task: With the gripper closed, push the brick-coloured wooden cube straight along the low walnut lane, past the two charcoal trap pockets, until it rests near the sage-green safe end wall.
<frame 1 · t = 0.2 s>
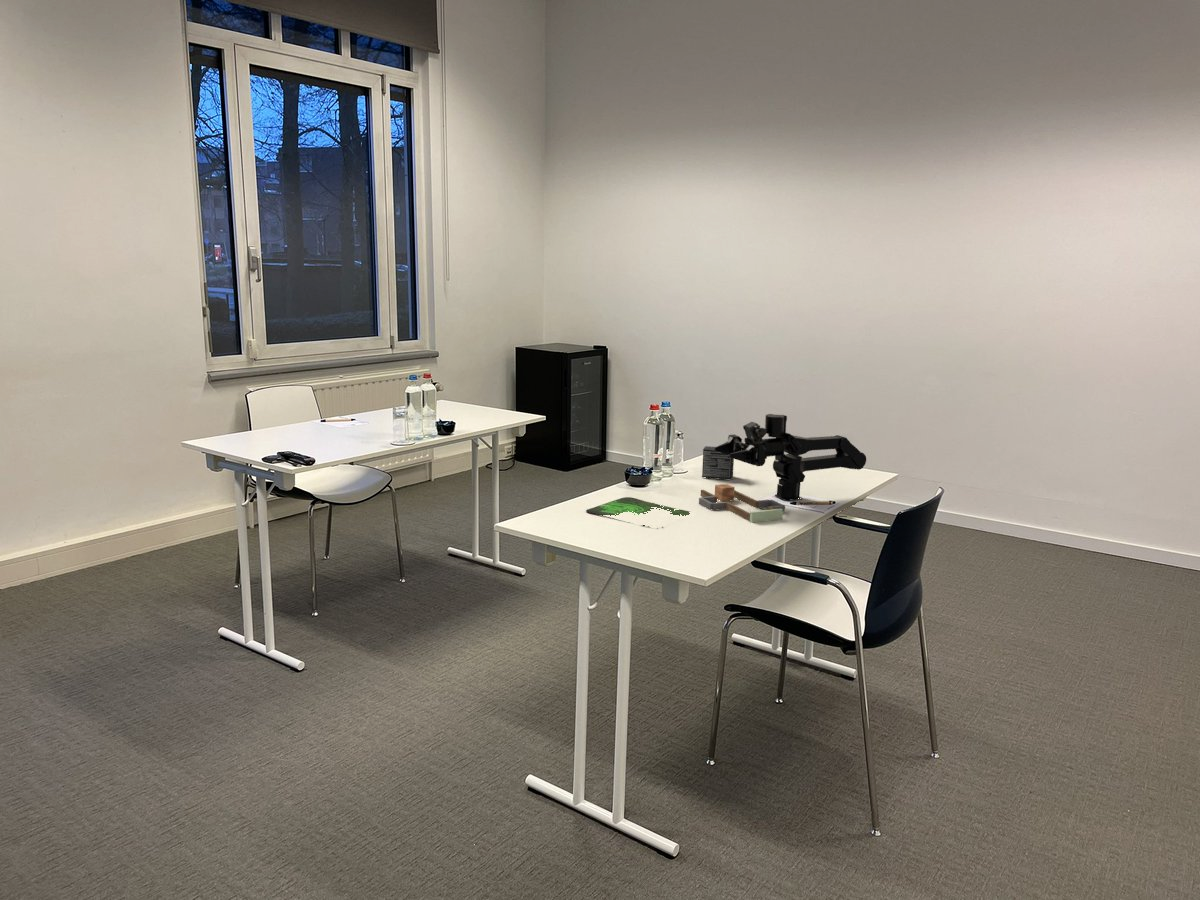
hand: (722, 452, 274), 17 cm above the table, tool horizontal, fingers open, 9 cm apart
safe end wall: (766, 515, 261), on the table
small box: (717, 477, 313), on the table
mouse mat: (641, 514, 266), on the table
lane walls: (733, 504, 278), on the table
trap pockets: (733, 504, 278), on the table
wooden cube: (724, 499, 283), on the table
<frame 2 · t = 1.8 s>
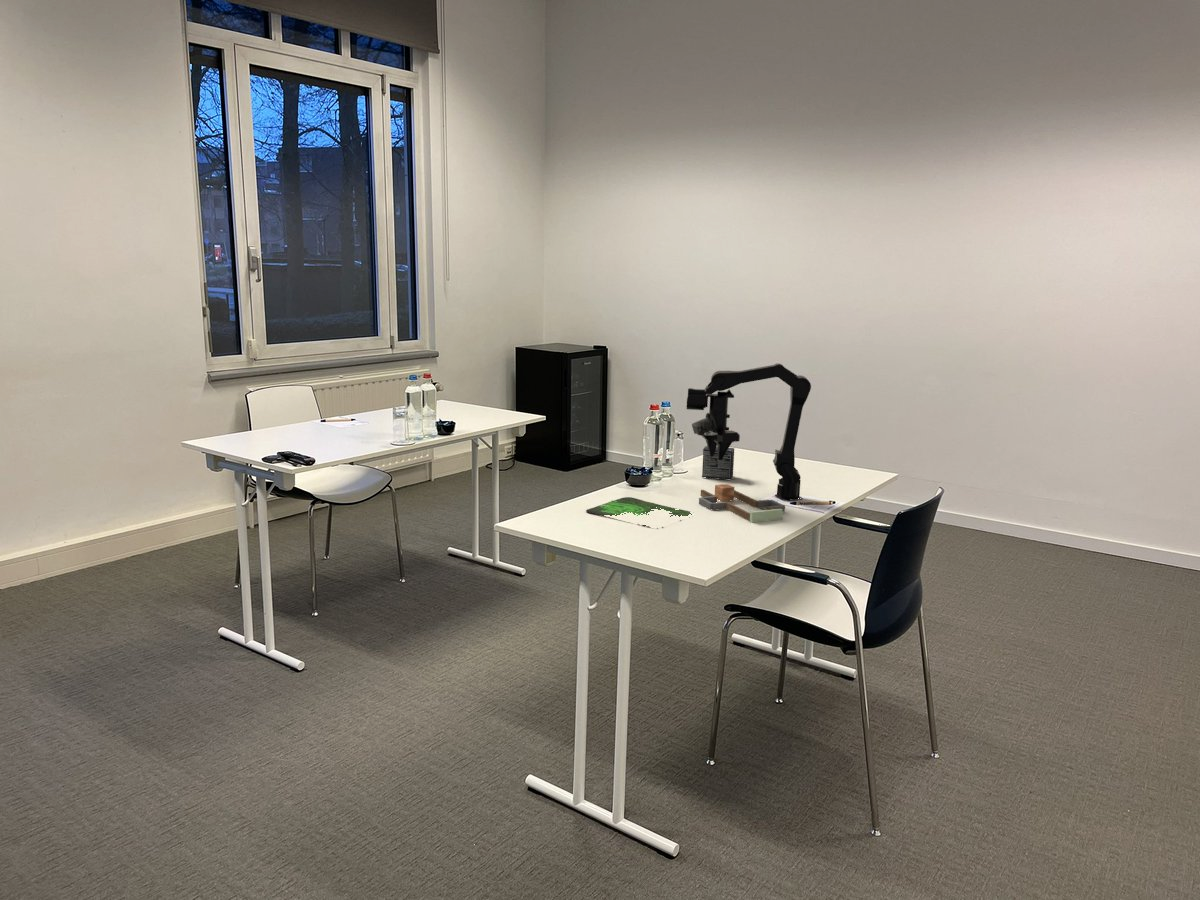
hand: (715, 458, 287), 12 cm above the table, tool pointing down, fingers open, 5 cm apart
nothing on the table moved.
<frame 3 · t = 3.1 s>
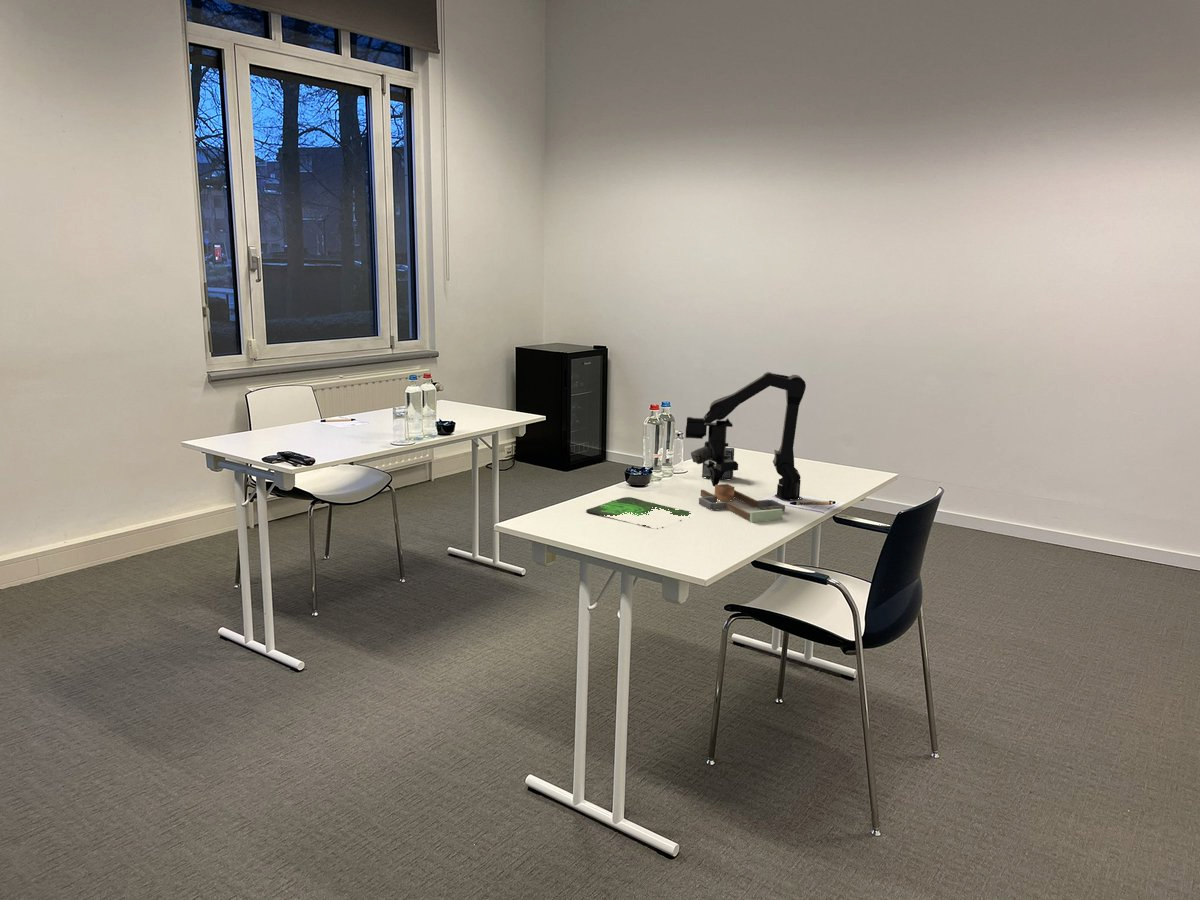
hand: (714, 486, 289), 3 cm above the table, tool pointing down, fingers closed
nothing on the table moved.
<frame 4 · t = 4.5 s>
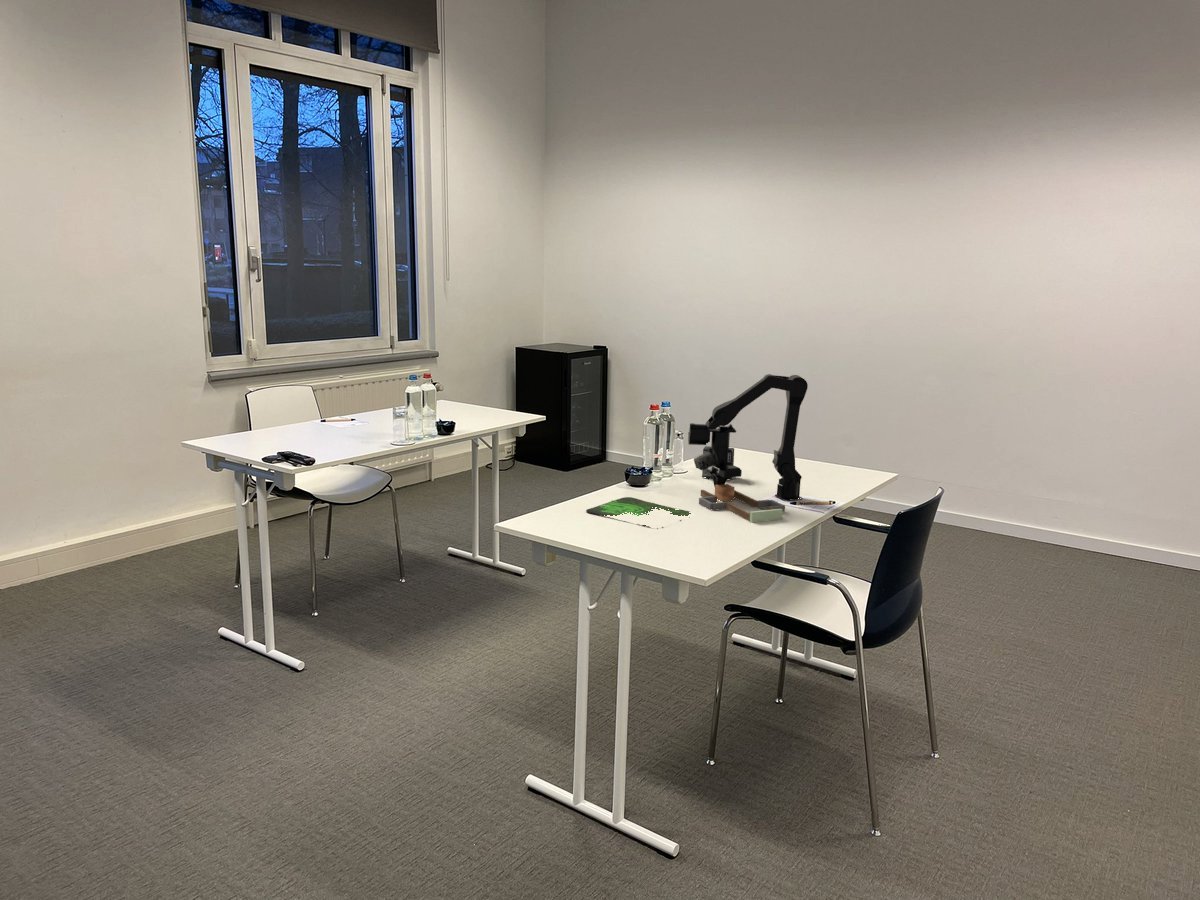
hand: (717, 492, 287), 1 cm above the table, tool pointing down, fingers closed
wooden cube: (724, 499, 283), on the table, touching gripper
everything else where it was.
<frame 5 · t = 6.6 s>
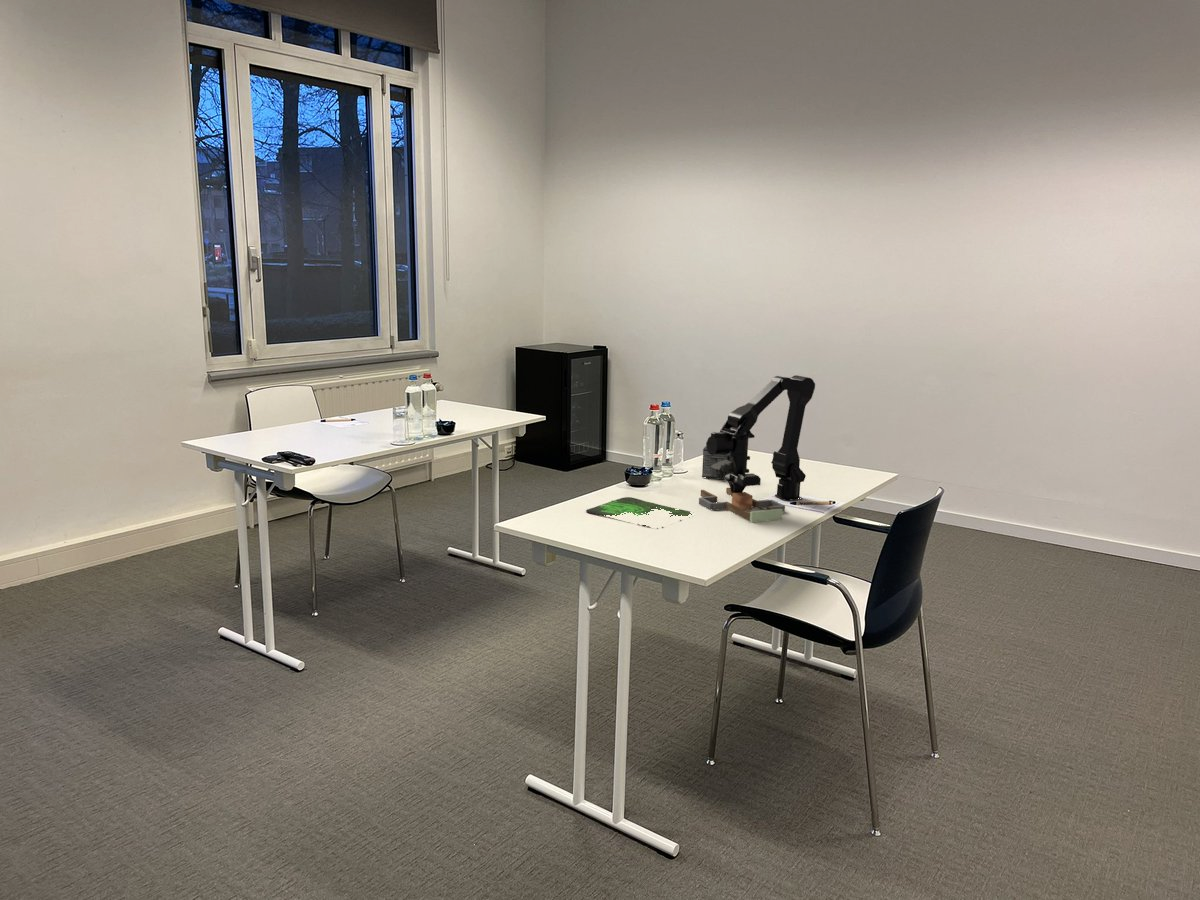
hand: (735, 501, 277), 1 cm above the table, tool pointing down, fingers closed
wooden cube: (741, 508, 273), on the table, touching gripper
everything else where it was.
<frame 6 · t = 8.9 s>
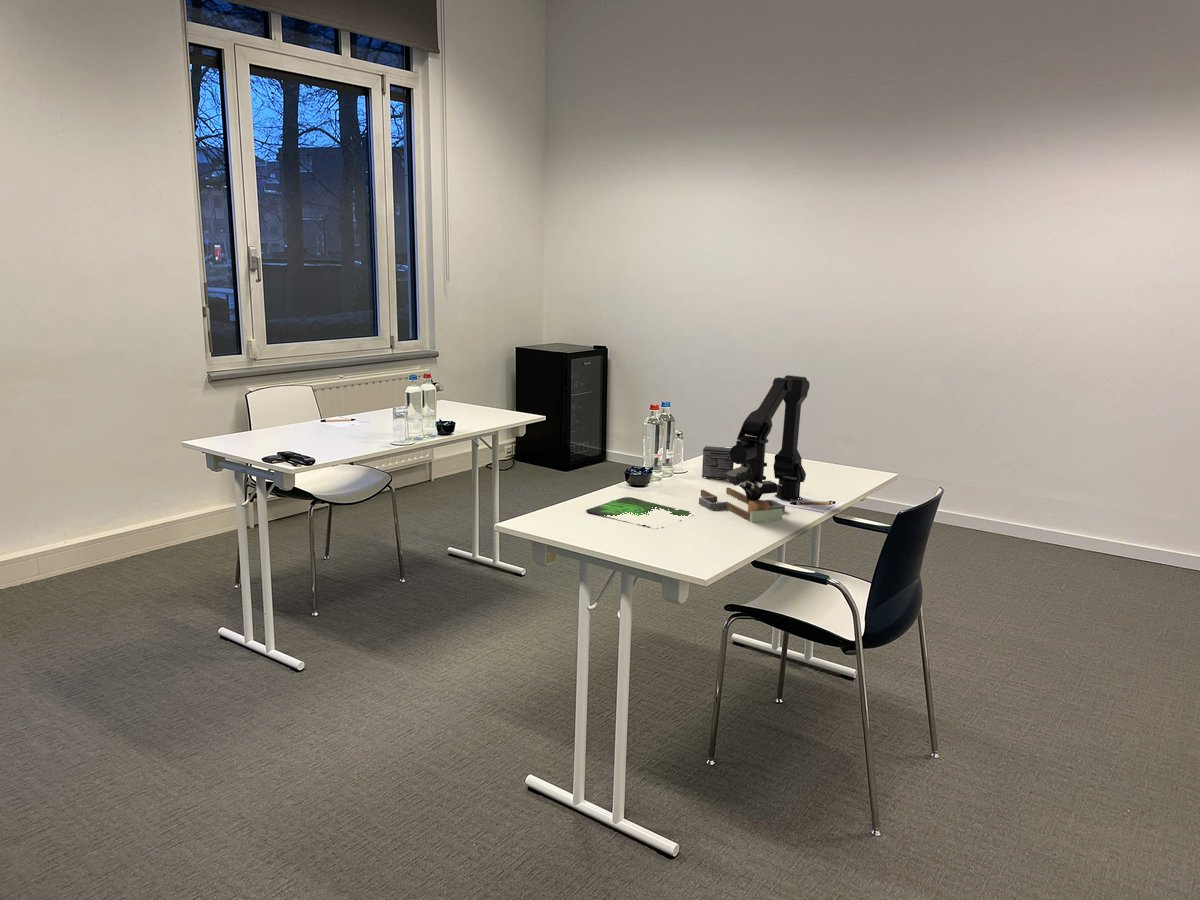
hand: (751, 509, 268), 1 cm above the table, tool pointing down, fingers closed
wooden cube: (758, 516, 265), on the table, touching gripper
everything else where it was.
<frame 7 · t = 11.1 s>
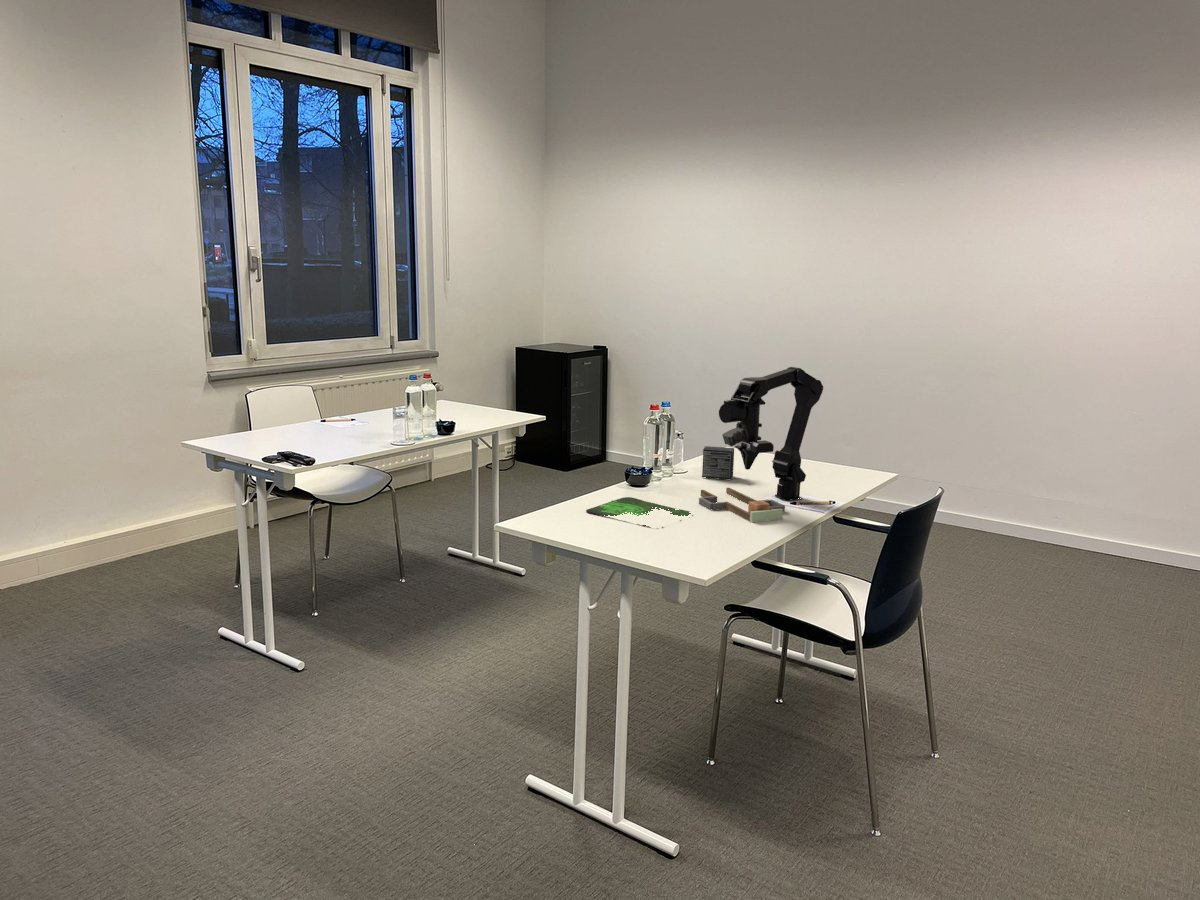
hand: (747, 469, 274), 12 cm above the table, tool pointing down, fingers closed
wooden cube: (758, 517, 265), on the table
everything else where it was.
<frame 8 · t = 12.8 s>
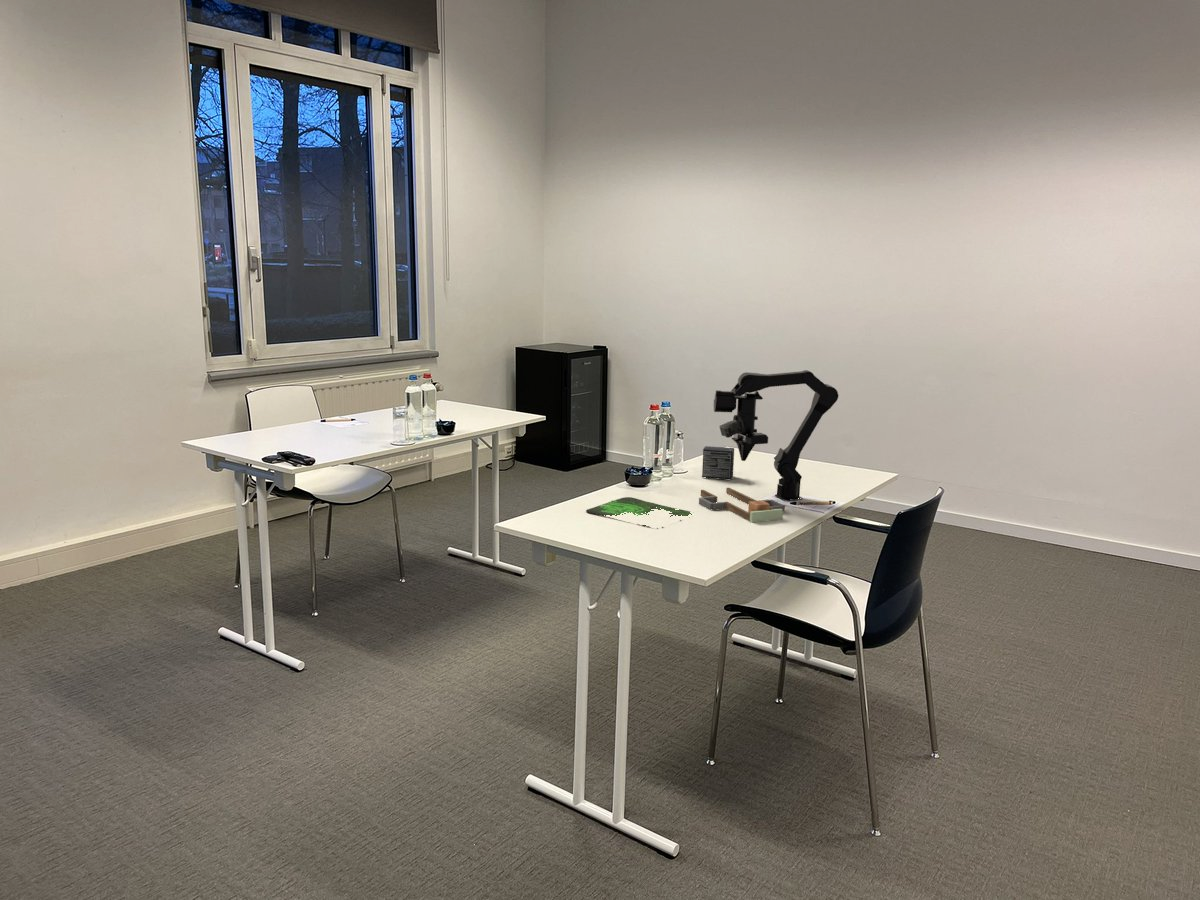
hand: (743, 460, 284), 12 cm above the table, tool pointing down, fingers closed
nothing on the table moved.
at the end: wooden cube 0.2 cm from the target spot, on the table; wooden cube tilted 0° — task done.
